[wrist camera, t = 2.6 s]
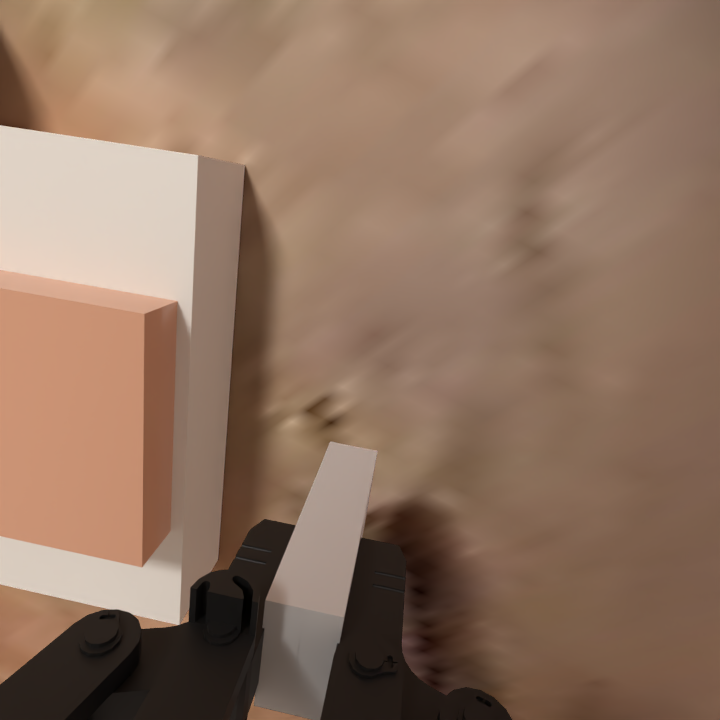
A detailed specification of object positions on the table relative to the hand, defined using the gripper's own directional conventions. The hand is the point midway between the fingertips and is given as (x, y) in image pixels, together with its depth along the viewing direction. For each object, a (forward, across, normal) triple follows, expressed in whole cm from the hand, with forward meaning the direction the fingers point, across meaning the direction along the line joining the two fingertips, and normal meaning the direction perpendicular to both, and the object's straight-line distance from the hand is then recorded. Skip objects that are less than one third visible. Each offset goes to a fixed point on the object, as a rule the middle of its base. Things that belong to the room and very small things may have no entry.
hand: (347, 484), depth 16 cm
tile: (+2, -11, 0) cm, 11 cm away
